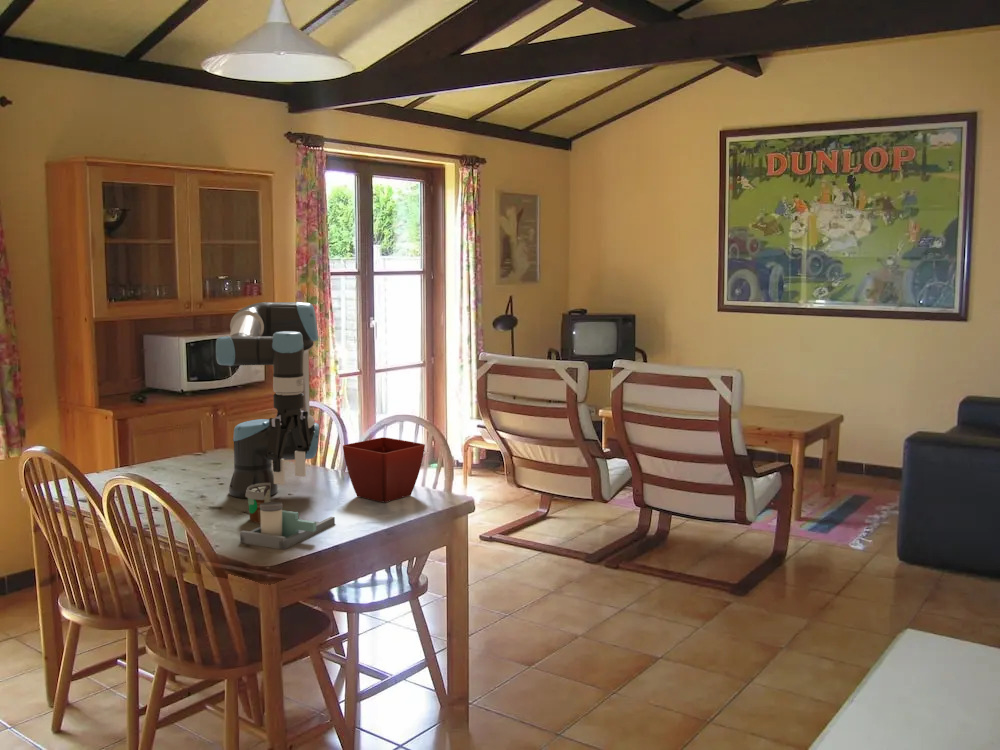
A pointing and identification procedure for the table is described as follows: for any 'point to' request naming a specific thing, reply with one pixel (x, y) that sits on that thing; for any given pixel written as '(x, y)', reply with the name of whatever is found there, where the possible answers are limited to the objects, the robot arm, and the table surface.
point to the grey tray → (279, 541)
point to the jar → (271, 518)
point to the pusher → (295, 524)
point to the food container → (257, 499)
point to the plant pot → (383, 467)
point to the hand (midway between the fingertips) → (289, 479)
